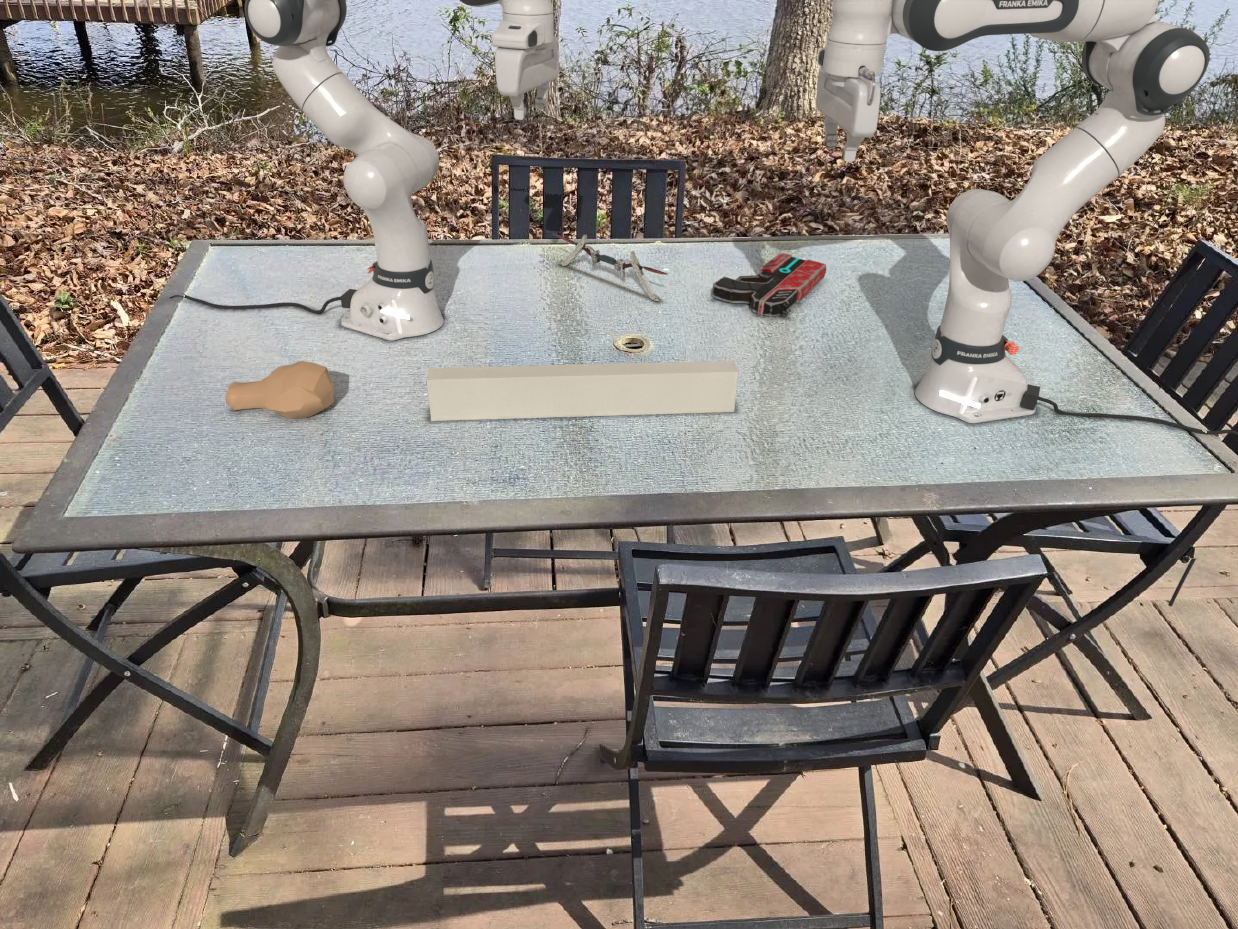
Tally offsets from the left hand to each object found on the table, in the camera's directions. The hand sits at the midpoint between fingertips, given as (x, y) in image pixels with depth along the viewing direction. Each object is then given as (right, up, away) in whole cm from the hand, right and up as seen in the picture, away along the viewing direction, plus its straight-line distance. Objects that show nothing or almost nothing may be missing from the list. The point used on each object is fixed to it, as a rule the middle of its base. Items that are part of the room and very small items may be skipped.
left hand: (530, 113), depth 161 cm
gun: (+54, -22, +55) cm, 80 cm away
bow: (+13, -19, +57) cm, 62 cm away
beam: (+10, -54, +4) cm, 55 cm away
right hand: (+52, -14, -18) cm, 57 cm away
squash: (-46, -55, +2) cm, 71 cm away
